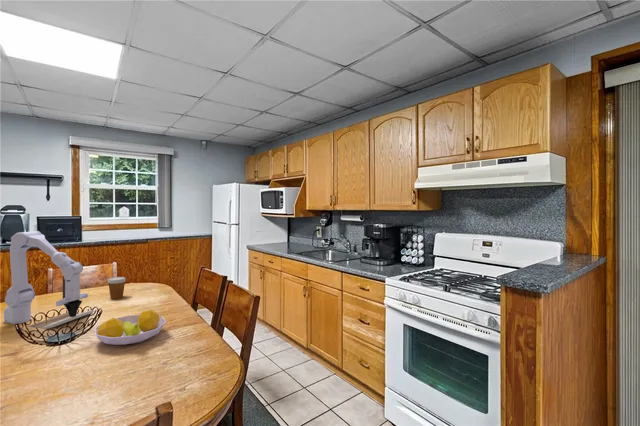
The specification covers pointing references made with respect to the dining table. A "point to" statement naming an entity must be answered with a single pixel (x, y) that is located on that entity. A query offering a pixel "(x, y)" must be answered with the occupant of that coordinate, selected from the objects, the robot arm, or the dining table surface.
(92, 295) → the dining table surface
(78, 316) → the grey plank
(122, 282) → the disposable coffee cup
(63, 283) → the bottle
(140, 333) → the fruit bowl
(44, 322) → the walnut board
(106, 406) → the dining table surface
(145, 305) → the dining table surface
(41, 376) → the dining table surface
